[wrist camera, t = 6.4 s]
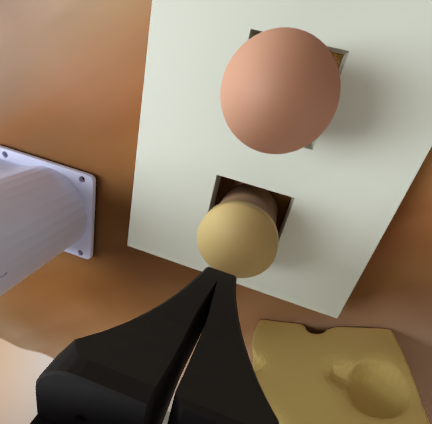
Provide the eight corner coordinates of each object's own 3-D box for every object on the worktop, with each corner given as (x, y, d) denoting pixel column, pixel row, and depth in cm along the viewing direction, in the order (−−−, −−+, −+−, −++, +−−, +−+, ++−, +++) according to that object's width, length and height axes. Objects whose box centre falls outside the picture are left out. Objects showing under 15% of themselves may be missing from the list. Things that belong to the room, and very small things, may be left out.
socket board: (139, 233, 24) (127, 245, 23) (200, -265, 13) (185, -320, 11) (334, 299, 22) (337, 318, 21) (609, -228, 11) (669, -288, 9)
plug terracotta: (232, 124, 17) (210, 137, 13) (253, 34, 15) (235, 14, 11) (310, 145, 17) (314, 167, 12) (343, 54, 15) (362, 43, 10)
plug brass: (211, 228, 22) (190, 263, 18) (225, 171, 20) (205, 194, 16) (270, 248, 22) (263, 288, 17) (291, 190, 20) (289, 220, 15)
